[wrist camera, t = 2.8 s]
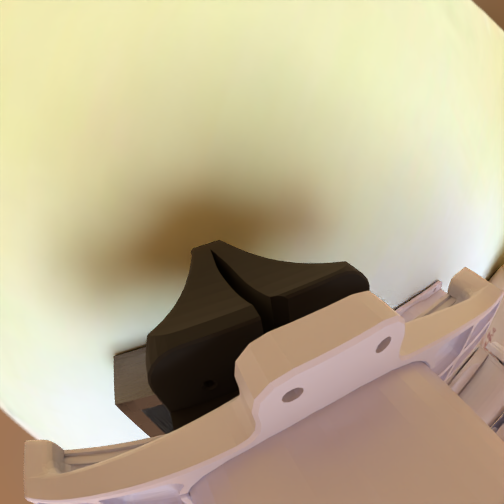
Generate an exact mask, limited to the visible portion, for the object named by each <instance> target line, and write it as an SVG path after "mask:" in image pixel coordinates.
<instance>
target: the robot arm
mask: <svg viewBox="0 0 504 504" xmlns="http://www.w3.org/2000/svg"><path fill="white" fill-rule="evenodd" d="M191 254H192V259H191V266H190V271H189V275H188V278H187V281H186V284H185V287H184V289H183V291H182V294H181V296H180V297H179V299H178V301H177V303H176V304H175V306H174V307H173V309H172V310H171V311H170V313H169V314H168V315H167V316H166V318H165V319H164V320H163V321H162V322H161V323H160V324H159V325H158V326H157V327H156V328H155V329H154V330H152V331H151V332H150V333H149V334H148V336H147V343H146V355H145V363H146V372H147V379H148V384H149V386H150V388H151V390H152V391H153V393H154V394H155V395H156V396H157V398H158V399H159V400H160V401H161V402H162V404H163V405H164V406H165V407H166V408H167V410H168V411H169V412H170V415H171V420H172V424H173V428H174V431H173V432H171V433H168V434H164V435H160V436H155V437H151V438H146V439H142V440H137V441H132V442H126V443H121V444H115V445H108V446H101V447H93V448H84V449H74V450H63V449H62V448H61V447H59V446H58V445H57V444H55V443H53V442H51V441H48V440H27V441H25V451H24V496H25V498H26V500H28V501H30V502H32V503H35V504H504V414H503V412H504V347H503V346H502V345H500V344H499V343H497V342H492V343H488V344H487V346H486V348H487V349H488V350H489V351H490V352H491V353H492V354H493V355H494V356H495V357H496V358H497V359H498V360H497V359H496V358H494V357H493V356H492V355H491V354H490V353H489V352H487V351H486V350H485V349H484V348H483V346H484V344H485V339H486V332H487V330H488V328H489V326H490V324H491V322H492V320H493V318H494V316H495V314H496V311H497V309H498V307H499V305H500V302H501V300H502V298H503V295H504V292H503V291H502V290H500V289H499V288H497V287H496V286H494V285H493V284H491V283H490V282H488V281H487V280H485V279H484V278H482V277H481V276H479V275H478V274H476V273H475V272H473V271H471V270H470V269H468V268H467V267H464V268H463V269H462V270H461V271H459V272H458V273H457V274H456V275H454V277H453V278H452V280H451V282H450V284H449V288H448V293H446V292H444V291H443V290H441V285H442V282H440V281H438V282H436V283H435V284H433V285H432V286H431V287H429V288H428V289H426V290H425V291H423V292H422V293H421V294H419V295H418V296H416V297H415V298H413V299H412V300H410V301H409V302H407V303H406V304H404V305H403V306H401V307H400V308H398V309H396V310H395V311H394V310H393V309H392V308H391V307H389V306H388V305H387V304H386V303H385V302H383V301H382V300H381V299H380V298H378V297H377V296H376V295H374V294H373V293H371V292H369V283H368V280H367V278H366V277H365V276H364V275H363V274H362V273H361V272H360V271H358V270H357V269H356V268H354V267H353V266H352V265H350V264H349V263H347V262H346V261H344V262H333V263H309V264H308V263H293V262H284V261H278V260H273V259H268V258H264V257H260V256H257V255H254V254H251V253H248V252H245V251H243V250H240V249H238V248H236V247H233V246H231V245H229V244H227V243H225V242H223V241H220V240H218V241H215V242H212V243H209V244H205V245H202V246H199V247H196V248H193V249H192V251H191ZM502 414H503V415H502ZM501 415H502V416H501ZM500 416H501V418H500V419H499V420H498V418H499V417H500ZM497 420H498V421H497ZM496 421H497V422H496ZM495 422H496V423H495ZM494 423H495V424H494ZM493 424H494V426H493V427H492V428H490V427H491V426H492V425H493Z"/></svg>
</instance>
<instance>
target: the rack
mask: <svg viewBox="0 0 504 504" xmlns="http://www.w3.org/2000/svg"><path fill="white" fill-rule="evenodd" d="M145 355H146V347H144V348H140V349H137V350H134V351H130V352H127V353H124V354H120V355H117V356H114V392H115V405H116V406H117V407H118V408H119V409H120V410H121V411H122V412H123V413H124V414H125V415H126V416H127V417H128V418H130V419H131V420H132V421H133V422H134V423H135V424H136V425H137V426H138V427H139V428H140V429H142V430H143V431H144V432H145V433H146V434H147V435H148V436H150V437H155V436H160V435H164V434H168V433H171V432H173V431H174V428H173V424H172V420H171V415H170V412H169V411H168V410H167V408H166V407H165V406H164V405H163V404H162V402H161V401H160V400H159V399H158V398H157V396H156V395H155V394H154V393H153V391H152V390H151V388H150V386H149V384H148V379H147V372H146V363H145Z"/></svg>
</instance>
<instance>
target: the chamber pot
mask: <svg viewBox="0 0 504 504" xmlns="http://www.w3.org/2000/svg"><path fill="white" fill-rule="evenodd" d="M488 282H490V283H491V284H493V285H494V286H496V287H497V288H499V289H500V290H502V291H503V292H504V265H502V266H501V267H500V268H499V269H498V270H497V271H496V272H495V273H494V275H493V276H492V277H491V278H490V280H489V281H488ZM492 342H497V343H499V344H500V345H502V346H503V347H504V295H503V298H502V300H501V302H500V305H499V307H498V309H497V311H496V314H495V316H494V318H493V320H492V322H491V324H490V326H489V328H488V330H487V332H486V339H485V344H484V346H483V348H484V349H485V350H486V351H487V352H489V353H490V354H491V355H492V356H493V357H494V358H496V357H495V356H494V355H493V354H492V353H491V352H490V351H489V350H488V349H487V348H486V346H487V344H488V343H492ZM496 359H497V358H496ZM497 360H498V359H497Z"/></svg>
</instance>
